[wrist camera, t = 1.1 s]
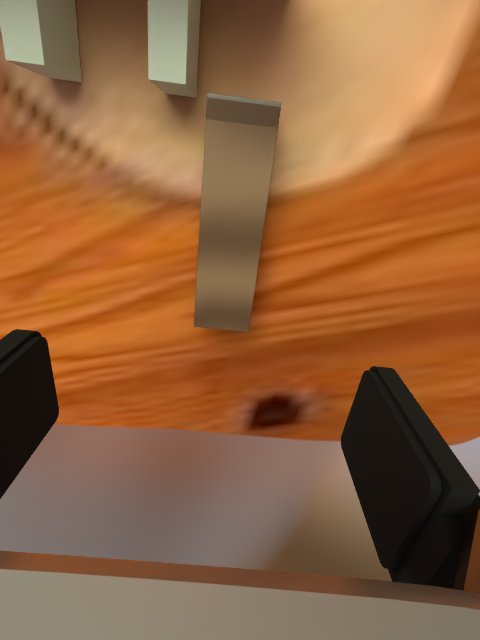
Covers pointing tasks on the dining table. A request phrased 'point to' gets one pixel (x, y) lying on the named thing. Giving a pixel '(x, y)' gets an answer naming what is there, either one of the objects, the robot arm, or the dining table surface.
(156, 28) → the pale grey legged piece
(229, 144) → the rail
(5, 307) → the dining table surface
